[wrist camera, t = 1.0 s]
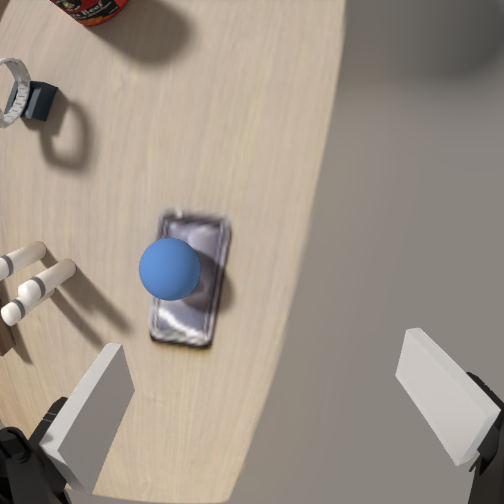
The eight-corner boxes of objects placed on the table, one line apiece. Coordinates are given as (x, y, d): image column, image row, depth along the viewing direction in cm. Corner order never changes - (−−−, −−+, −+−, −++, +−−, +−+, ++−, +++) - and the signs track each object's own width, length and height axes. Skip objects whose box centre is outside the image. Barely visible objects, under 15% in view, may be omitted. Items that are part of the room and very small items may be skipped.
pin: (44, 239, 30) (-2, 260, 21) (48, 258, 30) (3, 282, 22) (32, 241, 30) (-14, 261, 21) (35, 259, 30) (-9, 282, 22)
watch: (14, 130, 26) (-45, 126, 15) (34, 71, 24) (-21, 52, 13) (41, 136, 27) (-21, 132, 16) (63, 74, 25) (7, 49, 14)
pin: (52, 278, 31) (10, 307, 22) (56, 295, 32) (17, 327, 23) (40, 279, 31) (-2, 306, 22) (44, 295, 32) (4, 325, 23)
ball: (201, 230, 30) (191, 243, 24) (207, 285, 32) (199, 310, 26) (145, 234, 30) (125, 248, 24) (154, 288, 32) (137, 311, 26)
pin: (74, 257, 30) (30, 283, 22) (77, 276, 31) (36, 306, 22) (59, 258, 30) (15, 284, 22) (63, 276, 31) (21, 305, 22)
